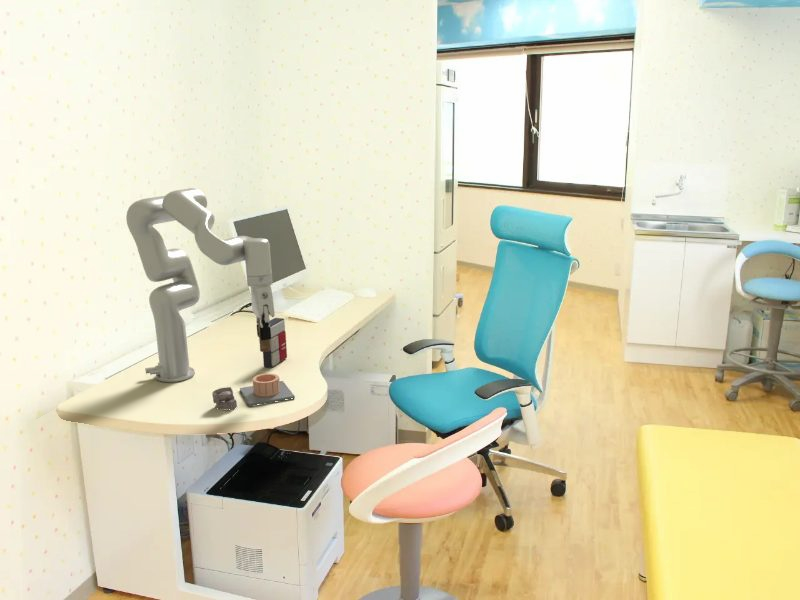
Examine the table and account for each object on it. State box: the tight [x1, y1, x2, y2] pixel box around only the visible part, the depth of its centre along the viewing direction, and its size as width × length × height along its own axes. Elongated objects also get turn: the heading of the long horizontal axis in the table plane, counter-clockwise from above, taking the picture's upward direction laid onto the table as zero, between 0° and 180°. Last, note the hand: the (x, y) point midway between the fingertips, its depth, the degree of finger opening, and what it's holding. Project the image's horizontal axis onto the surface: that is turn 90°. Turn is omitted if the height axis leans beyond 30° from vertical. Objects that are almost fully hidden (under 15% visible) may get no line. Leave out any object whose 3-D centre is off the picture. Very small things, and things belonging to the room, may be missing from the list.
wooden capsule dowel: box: [257, 316, 271, 353], centre depth 217 cm, size 3×3×12 cm
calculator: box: [262, 317, 288, 369], centre depth 250 cm, size 11×4×15 cm, turn 160°
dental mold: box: [211, 386, 238, 411], centre depth 214 cm, size 8×7×5 cm
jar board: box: [239, 372, 296, 407], centre depth 222 cm, size 14×14×6 cm
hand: (264, 337), depth 218 cm, fingers closed on wooden capsule dowel, 3 cm apart
